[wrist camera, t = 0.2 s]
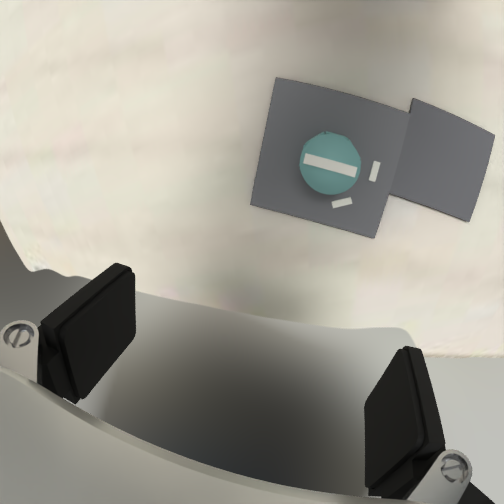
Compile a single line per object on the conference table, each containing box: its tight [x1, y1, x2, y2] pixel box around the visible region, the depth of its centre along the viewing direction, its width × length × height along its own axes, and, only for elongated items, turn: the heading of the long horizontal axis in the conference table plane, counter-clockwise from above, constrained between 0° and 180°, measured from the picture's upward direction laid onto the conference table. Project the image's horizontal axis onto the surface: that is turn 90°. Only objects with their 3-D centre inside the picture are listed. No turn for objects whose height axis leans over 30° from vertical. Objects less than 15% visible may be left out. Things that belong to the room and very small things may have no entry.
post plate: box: [250, 77, 410, 238], centre depth 33 cm, size 16×16×5 cm
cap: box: [299, 131, 361, 195], centre depth 32 cm, size 6×6×6 cm
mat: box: [389, 98, 495, 222], centre depth 31 cm, size 12×12×1 cm
